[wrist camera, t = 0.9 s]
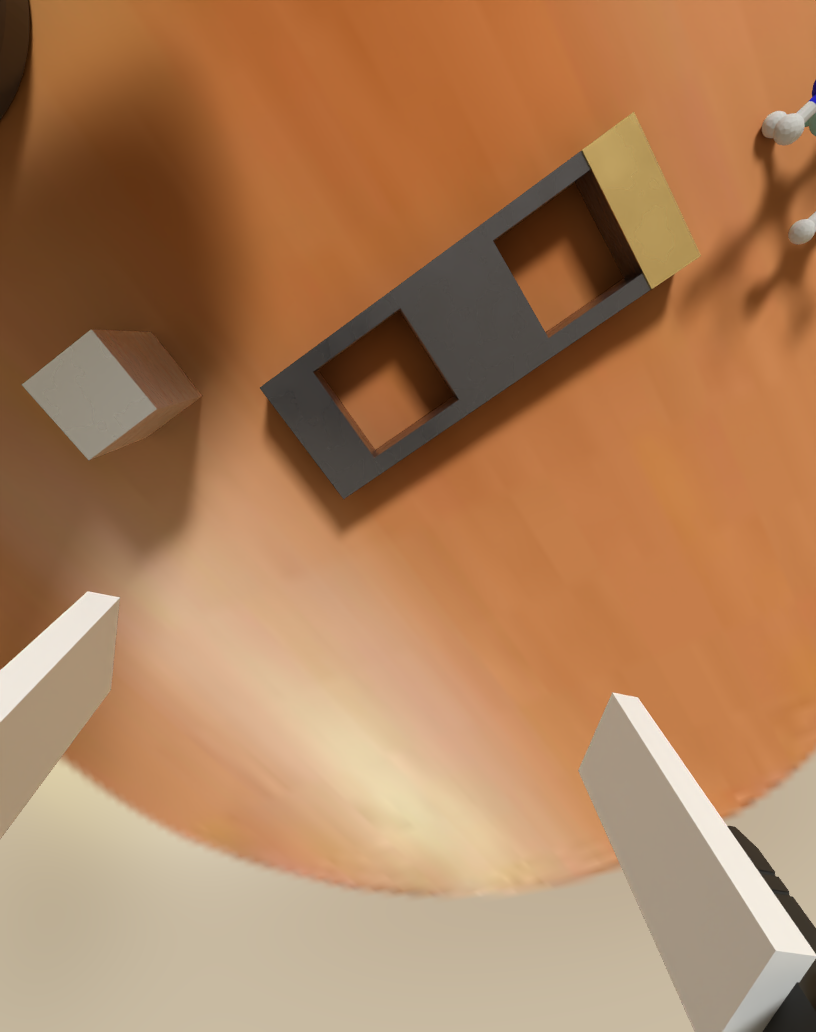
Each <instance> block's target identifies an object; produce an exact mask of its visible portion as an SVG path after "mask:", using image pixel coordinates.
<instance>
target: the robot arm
mask: <svg viewBox="0 0 816 1032" xmlns="http://www.w3.org/2000/svg"><path fill="white" fill-rule="evenodd" d="M28 44H29V4H28V0H0V119H1V118H2V116H3V115H4V113H5V112H6V111H7V109H8V107H9V106H10V104H11V102H12V100H13V98H14V96H15V94H16V92H17V90H18V87H19V84H20V81H21V79H22V75H23V72H24V68H25V63H26V58H27V52H28ZM119 603H120V597H115V596H110V595H105V594H99V593H94V592H89V591H87V592H86V593H85V594H84V595H83V596H82V597H81V598H80V599H79V600H77V601H76V602H75V603H74V604H73V605H72V606H71V607H70V608H69V609H68V610H66V611H65V612H64V613H63V614H62V615H61V616H60V617H59V618H58V619H56V620H55V621H54V622H53V623H52V624H51V625H50V626H49V627H48V628H47V629H45V630H44V631H43V632H42V633H41V634H40V635H39V636H38V637H37V638H35V639H34V640H33V641H32V642H31V643H30V644H29V645H28V646H27V647H26V648H24V649H23V650H22V651H21V652H20V653H19V654H18V655H17V656H16V657H14V658H13V659H12V660H11V661H10V662H9V663H8V664H7V665H6V666H5V667H3V668H2V669H1V670H0V839H1V838H2V836H3V835H4V833H5V832H6V831H7V829H8V828H9V827H10V825H11V824H12V823H13V821H14V820H15V819H16V817H17V816H18V814H19V813H20V812H21V810H22V809H23V808H24V806H25V805H26V804H27V802H28V801H29V800H30V798H31V797H32V796H33V794H34V793H35V792H36V790H37V789H38V787H39V786H40V785H41V784H42V782H43V781H44V779H45V778H46V777H47V775H48V774H49V773H50V771H51V770H52V769H53V767H54V766H55V765H56V763H57V762H58V761H59V759H60V758H61V757H62V755H63V754H64V753H65V751H66V750H67V748H68V747H69V746H70V744H71V743H72V742H73V740H74V739H75V738H76V736H77V735H78V734H79V732H80V731H81V730H82V728H83V727H84V726H85V724H86V723H87V721H88V720H89V719H90V717H91V716H92V715H93V713H94V712H95V711H96V709H97V708H98V707H99V705H100V704H101V703H102V701H103V700H104V699H105V697H106V696H107V695H108V693H109V692H110V690H111V684H112V674H113V664H114V654H115V644H116V634H117V623H118V613H119ZM578 771H579V773H580V776H581V778H582V780H583V782H584V785H585V787H586V789H587V791H588V794H589V796H590V798H591V800H592V802H593V805H594V807H595V809H596V811H597V814H598V816H599V818H600V820H601V823H602V825H603V827H604V829H605V832H606V834H607V836H608V838H609V841H610V843H611V845H612V847H613V850H614V852H615V854H616V856H617V859H618V861H619V863H620V865H621V868H622V870H623V872H624V874H625V876H626V879H627V881H628V883H629V886H630V888H631V890H632V892H633V894H634V897H635V899H636V901H637V903H638V906H639V908H640V910H641V912H642V915H643V917H644V919H645V921H646V923H647V926H648V928H649V930H650V933H651V935H652V937H653V939H654V942H655V944H656V946H657V948H658V951H659V953H660V955H661V957H662V959H663V962H664V964H665V966H666V969H667V971H668V973H669V975H670V978H671V980H672V982H673V984H674V987H675V989H676V991H677V993H678V995H679V998H680V1000H681V1002H682V1005H683V1006H684V1009H685V1011H686V1013H687V1016H688V1018H689V1020H690V1022H691V1025H692V1027H693V1029H694V1031H695V1032H816V928H815V927H814V925H813V924H812V923H811V921H810V920H809V919H808V917H807V916H806V914H805V913H804V912H803V910H802V909H801V907H800V906H799V905H798V903H797V902H796V900H795V899H794V898H793V897H791V896H790V895H789V891H788V889H787V888H786V887H785V885H784V884H783V883H782V881H781V880H780V878H779V877H776V876H775V871H774V870H773V869H772V867H771V866H770V864H769V863H768V862H767V860H766V859H765V858H764V856H763V855H762V853H761V852H760V851H759V849H758V848H757V847H756V846H755V845H754V844H753V843H752V842H750V841H749V840H748V839H747V838H746V837H745V836H744V835H743V834H742V833H741V832H740V831H739V830H738V829H737V828H736V827H733V826H727V825H726V824H725V822H724V821H723V820H722V818H721V817H720V815H719V814H718V812H717V811H716V809H715V808H714V807H713V805H712V804H711V802H710V801H709V799H708V798H707V796H706V795H705V794H704V792H703V791H702V789H701V788H700V786H699V785H698V784H697V782H696V781H695V779H694V778H693V776H692V775H691V773H690V772H689V771H688V769H687V768H686V766H685V765H684V763H683V762H682V760H681V759H680V758H679V756H678V755H677V753H676V752H675V750H674V749H673V747H672V746H671V745H670V743H669V742H668V740H667V739H666V737H665V736H664V734H663V733H662V732H661V730H660V729H659V727H658V726H657V724H656V723H655V722H654V720H653V719H652V717H651V716H650V714H649V713H648V711H647V710H646V709H645V707H644V706H643V704H642V703H641V701H640V700H639V698H638V697H632V696H627V695H622V694H617V693H612V695H611V697H610V699H609V701H608V704H607V706H606V708H605V711H604V713H603V715H602V718H601V720H600V722H599V724H598V727H597V729H596V731H595V734H594V736H593V738H592V740H591V743H590V745H589V747H588V750H587V752H586V754H585V756H584V759H583V761H582V763H581V766H580V768H579V770H578Z"/></svg>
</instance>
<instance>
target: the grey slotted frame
mask: <svg viewBox="0 0 816 1032" xmlns="http://www.w3.org/2000/svg"><path fill="white" fill-rule="evenodd" d="M574 183H576V185H577V187H578V189H579V191H580V193H581V195H582V197H583V199H584V201H585V203H586V205H587V207H588V209H589V211H590V213H591V215H592V216H593V218H594V220H595V222H596V224H597V226H598V228H599V230H600V232H601V234H602V236H603V238H604V240H605V242H606V244H607V246H608V248H609V250H610V252H611V254H612V256H613V257H614V259H615V261H616V263H617V265H618V267H619V269H620V271H621V273H622V275H623V277H624V279H622V280H621V281H619V282H618V283H617V284H615V285H614V286H612V287H611V288H609V289H608V290H606V291H605V292H604V293H602V294H601V295H599V296H598V297H596V298H595V299H593V300H592V301H591V302H589V303H588V304H586V305H585V306H583V307H582V308H580V309H579V310H577V311H576V312H575V313H573V314H572V315H570V316H569V317H567V318H566V319H564V320H563V321H562V322H560V323H559V324H557V325H556V326H554V327H553V328H551V329H550V330H549V331H547V332H546V333H545V331H544V329H543V328H542V326H541V324H540V322H539V321H538V319H537V317H536V315H535V314H534V312H533V310H532V308H531V307H530V305H529V303H528V301H527V300H526V298H525V296H524V294H523V293H522V291H521V289H520V287H519V286H518V284H517V282H516V280H515V279H514V277H513V275H512V273H511V272H510V270H509V268H508V266H507V265H506V263H505V261H504V259H503V258H502V256H501V254H500V252H499V251H498V249H497V247H496V245H495V244H494V241H495V240H497V239H498V238H500V237H501V236H502V235H504V234H505V233H506V232H508V231H509V230H511V229H512V228H513V227H515V226H516V225H517V224H519V223H520V222H522V221H523V220H524V219H526V218H527V217H528V216H530V215H531V214H533V213H534V212H535V211H537V210H538V209H539V208H541V207H542V206H543V205H545V204H546V203H548V202H549V201H550V200H552V199H553V198H554V197H556V196H557V195H559V194H560V193H561V192H563V191H564V190H565V189H567V188H568V187H570V186H571V185H572V184H574ZM700 256H701V255H700V253H699V251H698V249H697V246H696V244H695V242H694V240H693V238H692V236H691V233H690V231H689V229H688V227H687V225H686V223H685V221H684V218H683V216H682V214H681V212H680V210H679V208H678V206H677V203H676V201H675V199H674V197H673V195H672V193H671V190H670V188H669V186H668V184H667V182H666V180H665V178H664V175H663V173H662V171H661V169H660V167H659V165H658V162H657V160H656V158H655V156H654V154H653V152H652V150H651V147H650V145H649V143H648V141H647V139H646V137H645V135H644V132H643V130H642V128H641V126H640V124H639V122H638V119H637V117H636V115H635V113H634V112H633V113H632V114H630V115H629V116H628V117H626V118H625V119H623V120H622V121H621V122H619V123H618V124H617V125H615V126H614V127H613V128H611V129H610V130H609V131H607V132H606V133H605V134H603V135H602V136H600V137H599V138H598V139H596V140H595V141H594V142H592V143H591V144H590V145H588V146H587V147H586V148H584V149H583V150H582V151H580V152H579V153H578V154H576V155H575V156H574V157H572V158H571V159H569V160H568V161H567V162H565V163H564V164H563V165H561V166H560V167H559V168H557V169H556V170H555V171H553V172H552V173H550V174H549V175H548V176H546V177H545V178H544V179H542V180H541V181H540V182H538V183H537V184H536V185H534V186H533V187H531V188H530V189H529V190H527V191H526V192H525V193H523V194H522V195H521V196H519V197H518V198H517V199H515V200H514V201H512V202H511V203H510V204H508V205H507V206H506V207H504V208H503V209H502V210H500V211H499V212H498V213H496V214H495V215H493V216H492V217H491V218H489V219H488V220H487V221H485V222H484V223H483V224H481V225H480V226H479V227H477V228H476V229H474V230H473V231H472V232H470V233H469V234H468V235H466V236H465V237H464V238H462V239H461V240H460V241H458V242H457V243H455V244H454V245H453V246H451V247H450V248H449V249H447V250H446V251H445V252H443V253H442V254H441V255H439V256H438V257H436V258H435V259H434V260H432V261H431V262H430V263H428V264H427V265H426V266H424V267H423V268H422V269H420V270H419V271H417V272H416V273H415V274H413V275H412V276H411V277H409V278H408V279H407V280H405V281H404V282H403V283H401V284H400V285H398V286H397V287H396V288H394V289H393V290H392V291H390V292H389V293H388V294H386V295H385V296H384V297H382V298H381V299H379V300H378V301H377V302H375V303H374V304H373V305H371V306H370V307H369V308H367V309H366V310H365V311H363V312H362V313H360V314H359V315H358V316H356V317H355V318H354V319H352V320H351V321H350V322H348V323H347V324H346V325H344V326H343V327H341V328H340V329H339V330H337V331H336V332H335V333H333V334H332V335H331V336H329V337H328V338H327V339H325V340H324V341H322V342H321V343H320V344H318V345H317V346H316V347H314V348H313V349H312V350H310V351H309V352H308V353H306V354H305V355H303V356H302V357H301V358H299V359H298V360H297V361H295V362H294V363H293V364H291V365H290V366H289V367H287V368H286V369H284V370H283V371H282V372H280V373H279V374H278V375H276V376H275V377H274V378H272V379H271V380H270V381H268V382H267V383H265V384H264V385H263V386H261V387H260V389H261V390H262V392H263V393H264V394H265V396H266V397H267V398H268V400H269V401H270V402H271V404H272V405H273V406H274V408H275V409H276V410H277V412H278V413H279V414H280V415H281V417H282V418H283V419H284V421H285V422H286V423H287V425H288V426H289V427H290V429H291V430H292V431H293V433H294V434H295V435H296V437H297V438H298V439H299V441H300V442H301V443H302V445H303V446H304V447H305V449H306V450H307V451H308V453H309V454H310V455H311V457H312V458H313V459H314V461H315V462H316V463H317V465H318V466H319V467H320V469H321V470H322V471H323V473H324V474H325V475H326V477H327V478H328V479H329V480H330V482H331V483H332V484H333V486H334V487H335V488H336V490H337V491H338V492H339V494H340V495H341V496H342V498H343V499H345V498H346V497H348V496H349V495H350V494H352V493H353V492H355V491H356V490H358V489H359V488H361V487H362V486H364V485H365V484H367V483H368V482H370V481H371V480H372V479H374V478H375V477H377V476H378V475H380V474H381V473H383V472H384V471H386V470H387V469H389V468H390V467H392V466H393V465H394V464H396V463H397V462H399V461H400V460H402V459H403V458H405V457H406V456H408V455H409V454H411V453H412V452H414V451H415V450H416V449H418V448H419V447H421V446H422V445H424V444H425V443H427V442H428V441H430V440H431V439H433V438H434V437H435V436H437V435H438V434H440V433H441V432H443V431H444V430H446V429H447V428H449V427H450V426H452V425H453V424H455V423H456V422H457V421H459V420H460V419H462V418H463V417H465V416H466V415H468V414H469V413H471V412H472V411H474V410H475V409H477V408H478V407H479V406H481V405H482V404H484V403H485V402H487V401H488V400H490V399H491V398H493V397H494V396H496V395H497V394H499V393H500V392H501V391H503V390H504V389H506V388H507V387H509V386H510V385H512V384H513V383H515V382H516V381H518V380H519V379H521V378H522V377H523V376H525V375H526V374H528V373H529V372H531V371H532V370H534V369H535V368H537V367H538V366H540V365H541V364H542V363H544V362H545V361H547V360H548V359H550V358H551V357H553V356H554V355H556V354H557V353H559V352H560V351H562V350H563V349H564V348H566V347H567V346H569V345H570V344H572V343H573V342H575V341H576V340H578V339H579V338H581V337H582V336H584V335H585V334H586V333H588V332H589V331H591V330H592V329H594V328H595V327H597V326H598V325H600V324H601V323H603V322H604V321H606V320H607V319H608V318H610V317H611V316H613V315H614V314H616V313H617V312H619V311H620V310H622V309H623V308H625V307H626V306H628V305H629V304H630V303H632V302H633V301H635V300H636V299H638V298H639V297H641V296H642V295H644V294H645V293H647V292H648V291H649V290H651V289H653V288H654V287H656V286H657V285H659V284H660V283H662V282H663V281H665V280H666V279H668V278H669V277H671V276H672V275H674V274H675V273H676V272H678V271H679V270H681V269H682V268H684V267H685V266H687V265H688V264H690V263H691V262H693V261H694V260H696V259H697V258H698V257H700ZM398 311H400V312H401V314H402V316H403V317H404V319H405V320H406V322H407V323H408V325H409V326H410V328H411V330H412V331H413V333H414V334H415V336H416V337H417V339H418V340H419V342H420V344H421V345H422V347H423V348H424V350H425V351H426V353H427V354H428V356H429V357H430V359H431V361H432V362H433V364H434V365H435V367H436V368H437V370H438V371H439V373H440V375H441V376H442V378H443V379H444V381H445V382H446V384H447V385H448V387H449V388H450V390H451V392H452V393H453V395H454V396H453V397H452V398H450V399H449V400H447V401H446V402H444V403H443V404H441V405H440V406H439V407H437V408H436V409H434V410H433V411H431V412H430V413H428V414H427V415H425V416H424V417H423V418H421V419H420V420H418V421H417V422H415V423H414V424H412V425H411V426H410V427H408V428H407V429H405V430H404V431H402V432H401V433H399V434H398V435H397V436H395V437H394V438H392V439H391V440H389V441H388V442H386V443H385V444H384V445H382V446H381V447H379V448H378V449H376V450H375V449H374V448H373V446H372V445H371V443H370V442H369V441H368V439H367V438H366V436H365V435H364V434H363V432H362V431H361V429H360V428H359V427H358V425H357V424H356V422H355V421H354V420H353V418H352V417H351V415H350V414H349V413H348V411H347V410H346V408H345V407H344V406H343V404H342V403H341V401H340V400H339V399H338V397H337V396H336V394H335V393H334V392H333V390H332V389H331V387H330V386H329V385H328V383H327V382H326V380H325V379H324V378H323V376H322V375H321V373H320V372H319V371H318V370H319V369H320V368H321V367H323V366H324V365H325V364H327V363H328V362H329V361H331V360H332V359H334V358H335V357H336V356H338V355H339V354H340V353H342V352H343V351H345V350H346V349H347V348H349V347H350V346H351V345H353V344H354V343H356V342H357V341H358V340H360V339H361V338H362V337H364V336H365V335H367V334H368V333H369V332H371V331H372V330H373V329H375V328H376V327H378V326H379V325H380V324H382V323H383V322H384V321H386V320H387V319H388V318H390V317H391V316H393V315H394V314H395V313H397V312H398Z"/></svg>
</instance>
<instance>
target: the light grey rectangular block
mask: <svg viewBox="0 0 816 1032" xmlns="http://www.w3.org/2000/svg"><path fill="white" fill-rule="evenodd" d="M22 386H23V387H24V388H25V389H26V390H27V391H28V393H29V394H30V395H31V396H32V397H33V398H34V399H35V400H36V402H37V403H38V404H39V405H40V406H41V407H42V408H43V409H44V411H45V412H46V413H47V414H48V415H49V416H50V417H51V418H52V420H53V421H54V422H55V423H56V424H57V425H58V426H59V427H60V429H61V430H62V431H63V432H64V433H65V434H66V435H67V437H68V438H69V439H70V440H71V441H72V442H73V443H74V444H75V446H76V447H77V448H78V449H79V450H80V451H81V452H82V453H83V455H84V456H85V457H86V458H87V459H88V460H91V459H94V458H96V457H99V456H101V455H104V454H107V453H109V452H112V451H114V450H117V449H119V448H122V447H124V446H127V445H129V444H132V443H134V442H137V441H140V440H142V439H145V438H147V437H148V436H150V435H151V434H152V433H154V432H155V431H156V430H158V429H159V428H160V427H162V426H163V425H164V424H166V423H167V422H168V421H170V420H171V419H172V418H174V417H175V416H176V415H178V414H179V413H180V412H182V411H183V410H184V409H186V408H187V407H188V406H190V405H191V404H192V403H194V402H195V401H196V400H198V399H199V398H200V397H202V395H201V394H200V392H199V391H198V390H197V388H196V387H195V386H194V385H193V383H192V382H191V381H190V380H189V378H188V377H187V376H186V375H185V373H184V372H183V371H182V370H181V368H180V367H179V366H178V364H177V363H176V362H175V361H174V359H173V358H172V357H171V356H170V354H169V353H168V352H167V351H166V349H165V348H164V347H163V345H162V344H161V343H160V342H159V340H158V339H157V338H156V337H155V335H154V334H153V333H152V332H141V331H120V330H98V329H91V330H90V331H88V332H87V333H86V334H85V335H83V336H82V337H81V338H80V339H78V340H77V341H76V342H75V343H73V344H72V345H71V346H70V347H68V348H67V349H66V350H65V351H63V352H62V353H61V354H60V355H58V356H57V357H56V358H55V359H53V360H52V361H51V362H50V363H48V364H47V365H46V366H45V367H43V368H42V369H41V370H40V371H38V372H37V373H36V374H35V375H33V376H32V377H31V378H30V379H28V380H27V381H26V382H25V383H23V384H22Z"/></svg>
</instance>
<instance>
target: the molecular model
mask: <svg viewBox="0 0 816 1032" xmlns="http://www.w3.org/2000/svg"><path fill="white" fill-rule="evenodd" d="M807 126H809V129H810V131H811V133H812V134H813V135H815V136H816V80H815V82H814V85H813V90H812V98H811V99H810V100H809V101H808V102H807V103H806V104H805V105H804V106H803V107H802V108H801V109H800V110H799V111H798V112H797V113H796V114H794V113H793V114H789V115H787V114H786V113H785V112H783V111H775V112H773V113H771V114H770V115H768V116H767V117H766V119H765V120H764V122H763V124H762V133H763V135H764V136H765V137H767V138H774V141H775V142H776V143H777V144H779V145H789V144H792V143H793V142H794V141H796V140H797V139H798V138H799V137H800V136H801V134H802V132H803V130H804V127H807ZM815 231H816V212H815V213H814V214H813V215H811V216H810V217H809V218H808V219H804V220H799V221H797V222H796V223H794V224H793V225H792V226H791V228H790V230H789V232H788V238H789V240H790V241H791V242H792V243H793V244H797V245H798V244H804V243H806V242H808V241H809V240H810V239H811V238H812V237H813V236H814V234H815Z"/></svg>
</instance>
